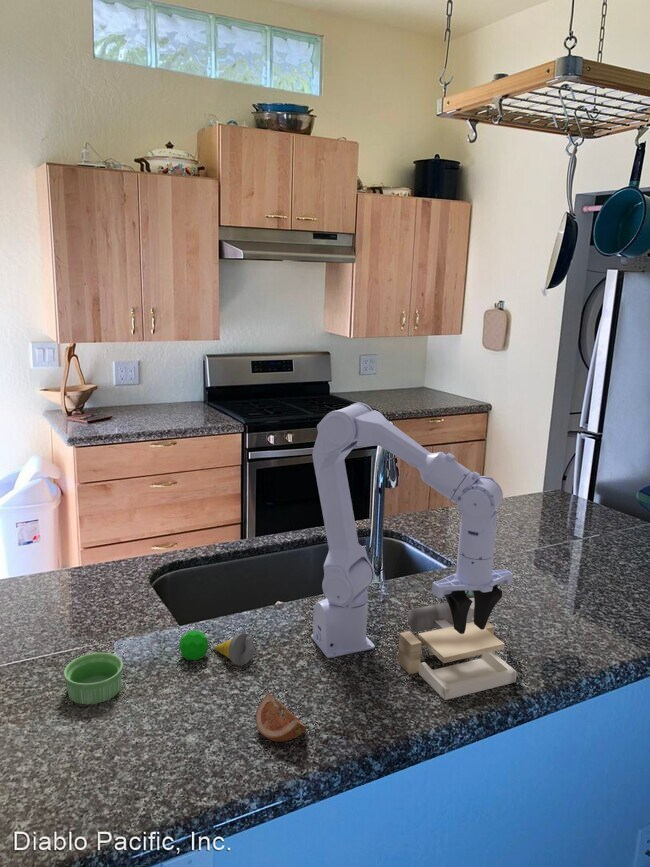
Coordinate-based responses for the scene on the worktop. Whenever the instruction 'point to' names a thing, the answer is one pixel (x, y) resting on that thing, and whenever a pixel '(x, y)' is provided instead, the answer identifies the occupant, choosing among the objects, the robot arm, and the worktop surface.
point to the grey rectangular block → (471, 612)
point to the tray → (468, 676)
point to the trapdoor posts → (417, 650)
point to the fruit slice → (277, 720)
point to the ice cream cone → (238, 649)
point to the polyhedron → (193, 645)
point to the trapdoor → (450, 634)
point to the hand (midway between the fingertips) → (469, 628)
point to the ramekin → (93, 677)
